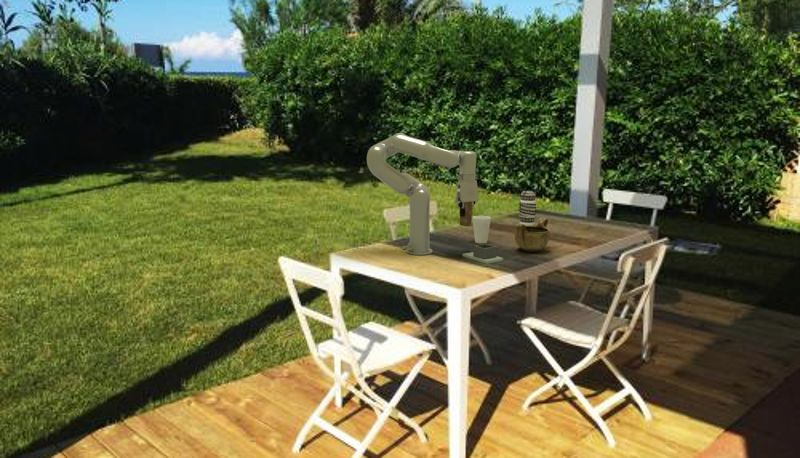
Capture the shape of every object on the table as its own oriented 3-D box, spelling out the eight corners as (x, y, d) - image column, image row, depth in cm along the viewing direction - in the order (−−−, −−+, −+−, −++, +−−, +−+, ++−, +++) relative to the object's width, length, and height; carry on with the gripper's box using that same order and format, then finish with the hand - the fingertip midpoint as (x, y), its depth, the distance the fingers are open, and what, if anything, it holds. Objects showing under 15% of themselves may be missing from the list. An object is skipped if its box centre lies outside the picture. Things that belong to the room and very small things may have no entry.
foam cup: (493, 243, 343) (493, 218, 340) (476, 244, 340) (477, 219, 337) (485, 239, 352) (486, 215, 349) (469, 240, 349) (469, 216, 346)
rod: (465, 226, 316) (466, 197, 313) (459, 225, 319) (460, 196, 316) (471, 225, 318) (472, 196, 315) (466, 224, 321) (467, 195, 318)
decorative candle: (517, 239, 353) (519, 192, 348) (518, 235, 362) (520, 189, 357) (534, 240, 351) (536, 193, 346) (535, 236, 360) (537, 190, 354)
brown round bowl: (530, 244, 341) (532, 215, 338) (559, 249, 329) (560, 219, 326) (503, 251, 326) (504, 220, 323) (532, 257, 314) (533, 226, 311)
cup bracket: (486, 263, 302) (487, 250, 301) (462, 256, 316) (462, 243, 314) (503, 260, 308) (503, 247, 306) (478, 253, 321) (478, 240, 320)
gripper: (458, 179, 306) (457, 218, 310) (485, 177, 315) (484, 215, 319) (448, 177, 312) (447, 216, 316) (475, 175, 321) (473, 212, 325)
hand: (465, 215), depth 317 cm, fingers closed on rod, 4 cm apart
